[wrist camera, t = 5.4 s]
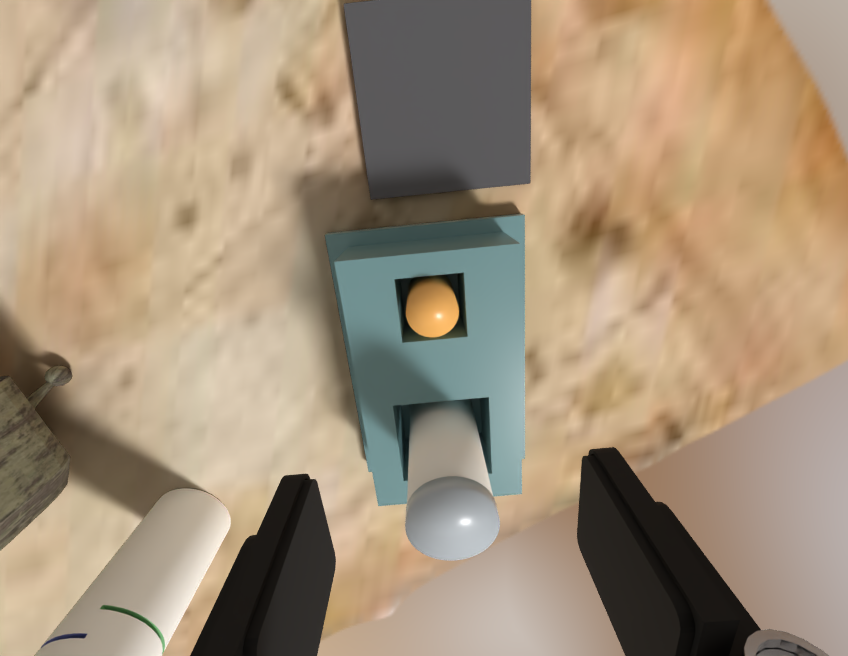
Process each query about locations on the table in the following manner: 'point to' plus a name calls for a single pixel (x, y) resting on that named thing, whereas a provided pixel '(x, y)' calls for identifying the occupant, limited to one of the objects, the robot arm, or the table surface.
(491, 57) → the mat
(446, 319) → the orange egg shape
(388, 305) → the teal hollow block
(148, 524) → the cylindrical container
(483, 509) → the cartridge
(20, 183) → the table surface
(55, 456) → the tabletop clock
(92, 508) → the table surface
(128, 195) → the table surface
